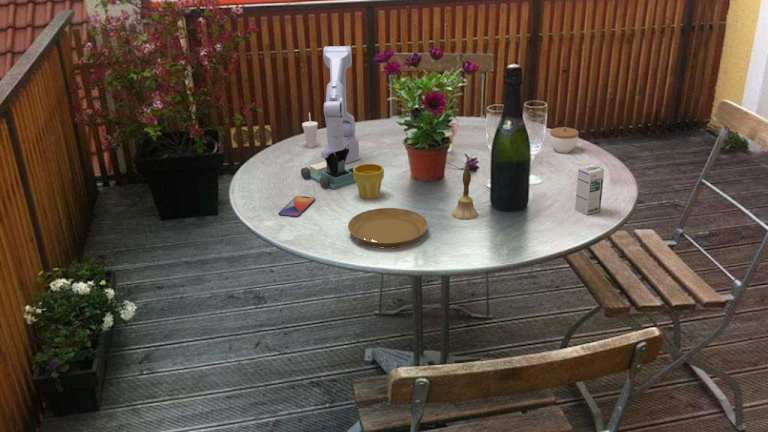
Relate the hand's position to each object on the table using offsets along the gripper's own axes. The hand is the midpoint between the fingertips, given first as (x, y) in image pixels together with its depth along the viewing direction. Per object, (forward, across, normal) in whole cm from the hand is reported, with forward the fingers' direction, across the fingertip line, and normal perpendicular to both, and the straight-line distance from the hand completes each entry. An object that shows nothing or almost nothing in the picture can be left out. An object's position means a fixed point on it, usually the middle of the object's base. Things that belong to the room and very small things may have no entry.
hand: (337, 170), depth 256 cm
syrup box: (+4, -19, +84) cm, 87 cm away
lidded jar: (+5, -70, +58) cm, 91 cm away
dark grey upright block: (+2, 0, 0) cm, 2 cm away
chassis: (+4, -2, -5) cm, 7 cm away
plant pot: (+4, +4, +16) cm, 18 cm away
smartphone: (+5, +25, +1) cm, 25 cm away
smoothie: (+4, -27, -32) cm, 42 cm away
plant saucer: (+5, +26, +38) cm, 46 cm away
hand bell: (+5, +3, +52) cm, 52 cm away
